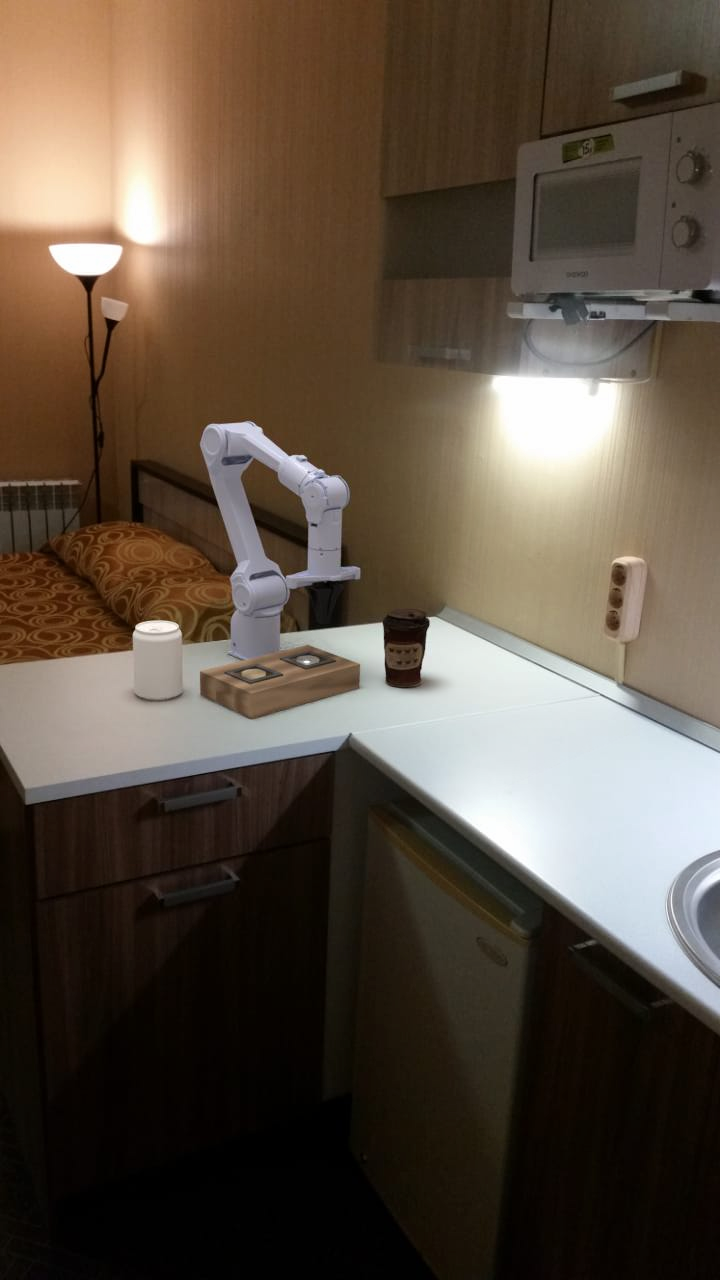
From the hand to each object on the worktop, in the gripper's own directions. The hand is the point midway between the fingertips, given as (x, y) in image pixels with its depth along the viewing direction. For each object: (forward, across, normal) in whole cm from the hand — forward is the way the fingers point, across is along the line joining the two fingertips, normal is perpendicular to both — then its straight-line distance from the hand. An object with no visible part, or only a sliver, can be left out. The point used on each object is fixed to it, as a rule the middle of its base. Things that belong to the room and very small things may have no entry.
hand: (322, 622), depth 192 cm
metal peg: (+10, -4, -1) cm, 11 cm away
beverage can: (+11, -28, +8) cm, 31 cm away
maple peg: (+10, -16, -3) cm, 19 cm away
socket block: (+10, -10, -2) cm, 15 cm away
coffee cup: (+11, +11, -10) cm, 18 cm away
